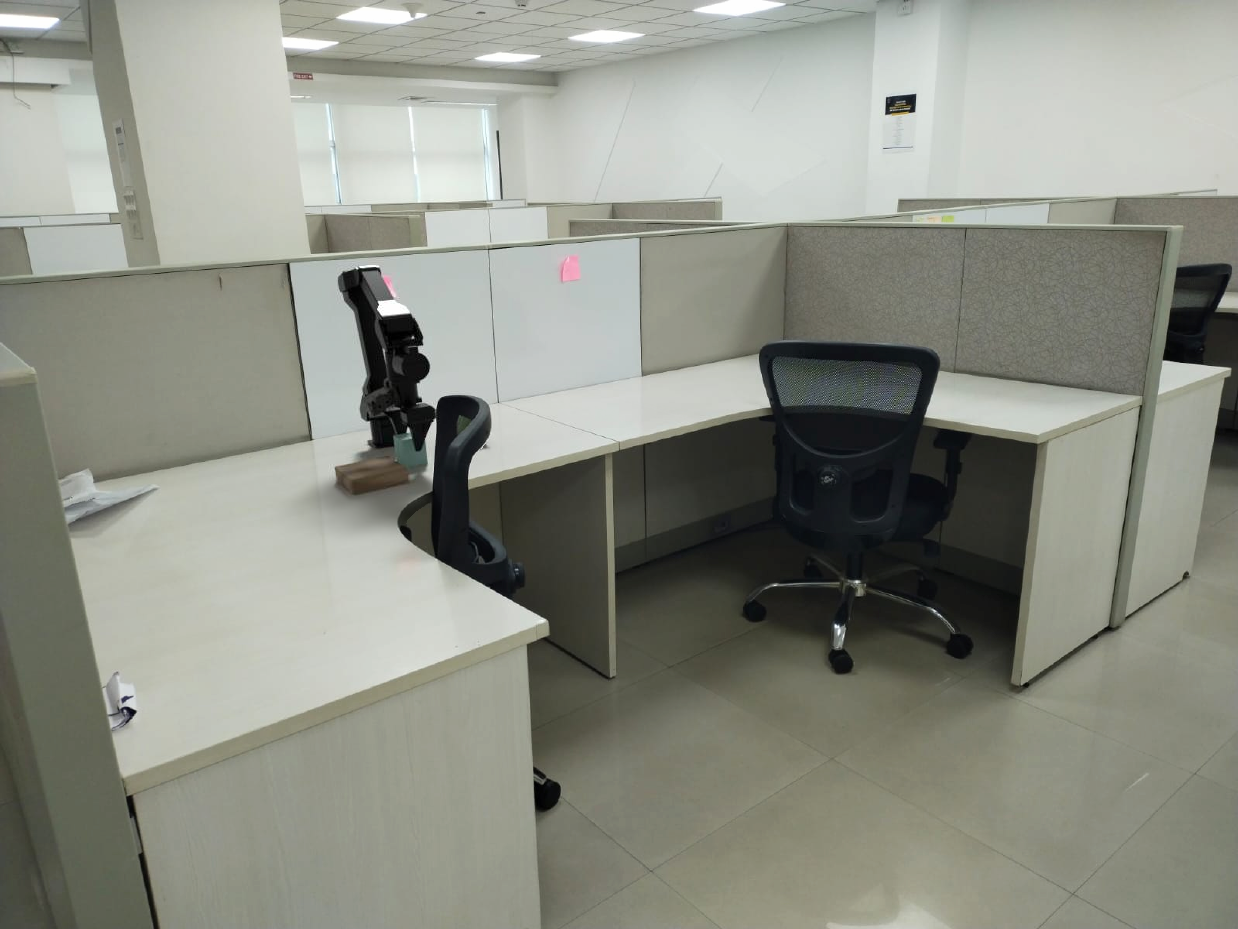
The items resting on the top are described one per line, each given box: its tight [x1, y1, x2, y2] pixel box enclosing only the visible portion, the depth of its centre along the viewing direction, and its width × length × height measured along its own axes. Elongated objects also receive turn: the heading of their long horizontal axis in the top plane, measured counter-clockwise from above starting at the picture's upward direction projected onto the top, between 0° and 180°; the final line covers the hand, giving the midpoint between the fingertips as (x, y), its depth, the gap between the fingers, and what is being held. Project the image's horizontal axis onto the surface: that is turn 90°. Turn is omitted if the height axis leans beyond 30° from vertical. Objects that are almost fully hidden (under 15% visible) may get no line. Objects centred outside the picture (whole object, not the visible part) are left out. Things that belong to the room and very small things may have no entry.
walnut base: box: [334, 455, 410, 496], centre depth 174 cm, size 11×11×3 cm
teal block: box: [393, 432, 429, 469], centre depth 185 cm, size 5×5×6 cm
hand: (410, 446), depth 185 cm, fingers open, 9 cm apart
